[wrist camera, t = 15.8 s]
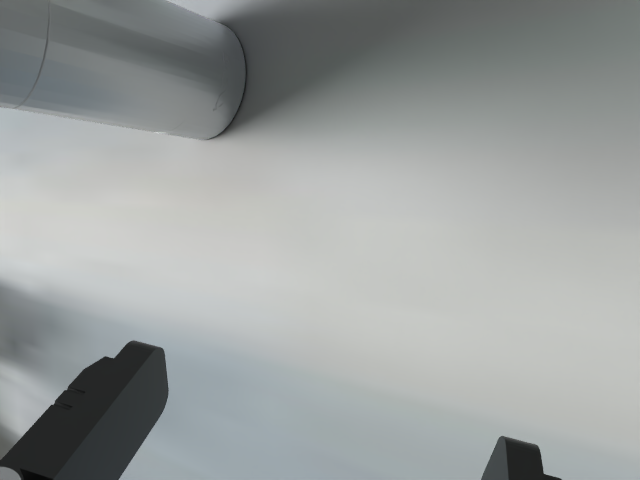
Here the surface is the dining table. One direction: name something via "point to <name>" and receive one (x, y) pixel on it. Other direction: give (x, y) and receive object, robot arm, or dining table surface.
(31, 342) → the dining table surface
